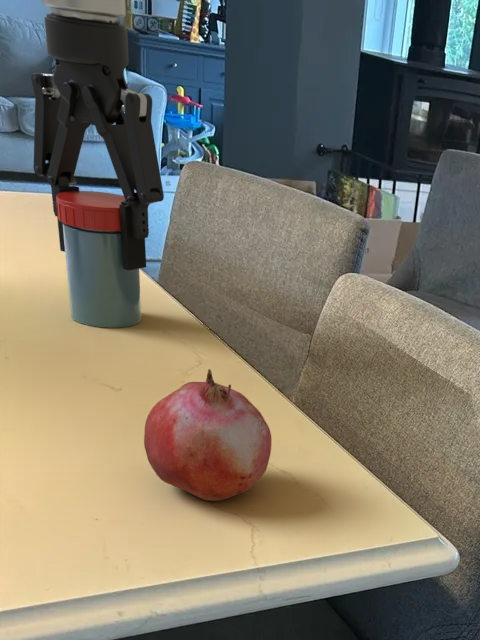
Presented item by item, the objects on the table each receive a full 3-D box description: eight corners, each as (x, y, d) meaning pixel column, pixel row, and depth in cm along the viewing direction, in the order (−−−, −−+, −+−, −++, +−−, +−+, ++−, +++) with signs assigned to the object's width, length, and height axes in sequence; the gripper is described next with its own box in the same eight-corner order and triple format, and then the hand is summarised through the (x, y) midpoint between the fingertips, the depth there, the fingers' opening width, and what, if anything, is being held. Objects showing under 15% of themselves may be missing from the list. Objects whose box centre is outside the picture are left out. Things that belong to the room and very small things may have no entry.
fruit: (158, 458, 73) (153, 338, 68) (274, 469, 74) (278, 352, 69) (132, 508, 65) (125, 378, 60) (263, 520, 67) (266, 393, 61)
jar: (61, 322, 98) (50, 206, 91) (82, 304, 104) (73, 194, 98) (131, 331, 98) (125, 217, 92) (148, 313, 105) (144, 205, 98)
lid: (100, 234, 91) (99, 210, 90) (39, 216, 94) (37, 193, 92) (158, 226, 98) (157, 204, 97) (99, 210, 100) (98, 188, 99)
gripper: (198, 35, 85) (201, 275, 98) (36, 5, 92) (58, 234, 104) (143, 29, 79) (154, 286, 92) (-26, -3, 86) (5, 242, 98)
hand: (103, 258), depth 98 cm, fingers closed on lid, 8 cm apart
